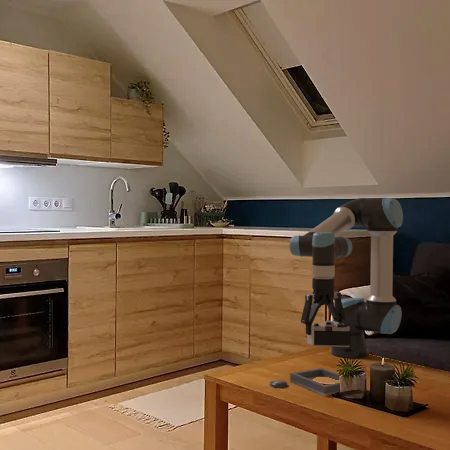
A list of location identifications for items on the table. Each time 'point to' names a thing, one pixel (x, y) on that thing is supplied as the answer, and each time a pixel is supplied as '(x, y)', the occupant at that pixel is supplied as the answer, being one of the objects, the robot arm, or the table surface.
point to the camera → (331, 334)
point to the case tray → (307, 381)
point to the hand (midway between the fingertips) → (323, 342)
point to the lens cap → (278, 384)
